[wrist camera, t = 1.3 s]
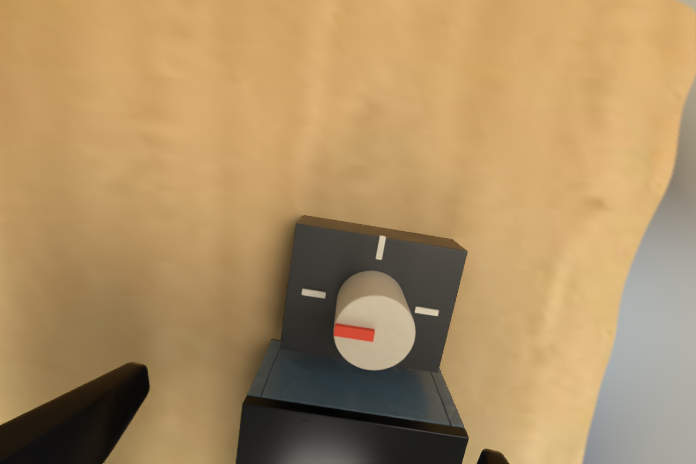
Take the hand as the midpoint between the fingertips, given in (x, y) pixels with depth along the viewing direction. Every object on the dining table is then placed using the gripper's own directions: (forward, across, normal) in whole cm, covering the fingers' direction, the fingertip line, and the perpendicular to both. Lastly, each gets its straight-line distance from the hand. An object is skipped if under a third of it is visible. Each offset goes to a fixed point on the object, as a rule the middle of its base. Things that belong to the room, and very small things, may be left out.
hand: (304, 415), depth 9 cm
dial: (+11, -1, +4) cm, 12 cm away
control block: (+14, -1, +4) cm, 15 cm away
